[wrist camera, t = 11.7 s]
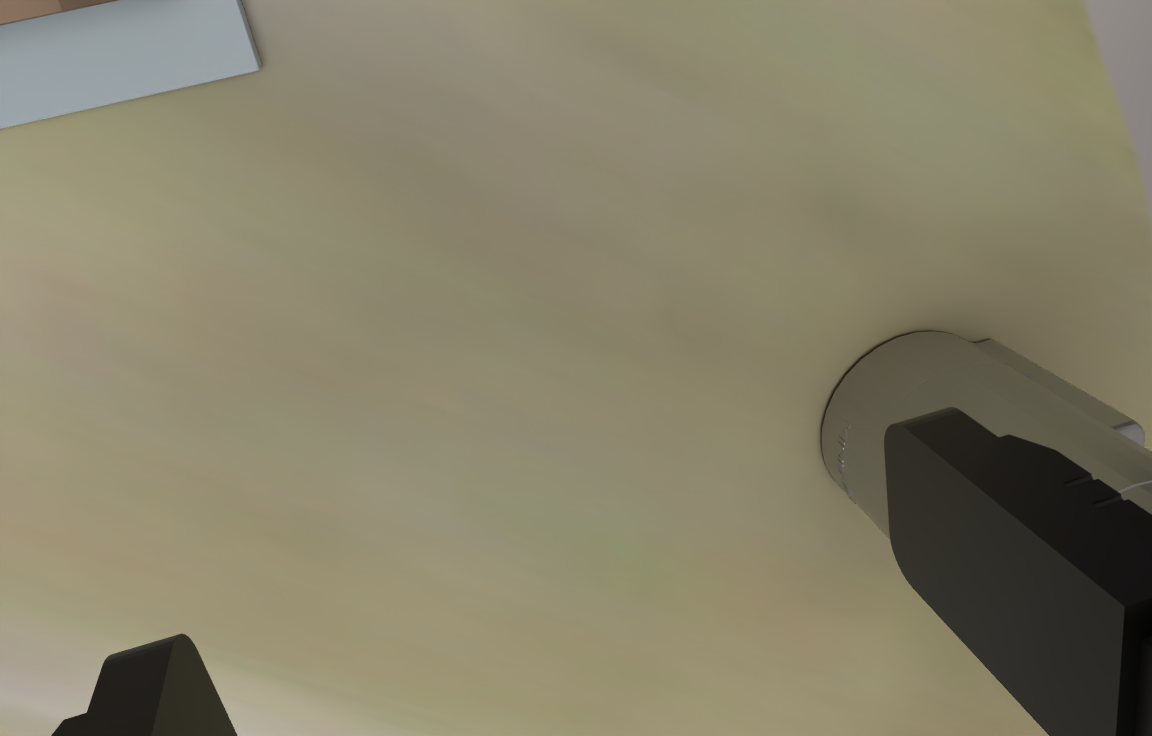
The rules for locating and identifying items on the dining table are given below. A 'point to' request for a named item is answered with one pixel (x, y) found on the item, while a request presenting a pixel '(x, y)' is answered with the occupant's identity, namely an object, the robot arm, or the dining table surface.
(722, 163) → the dining table surface
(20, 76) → the peg board
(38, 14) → the frame
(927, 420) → the robot arm
